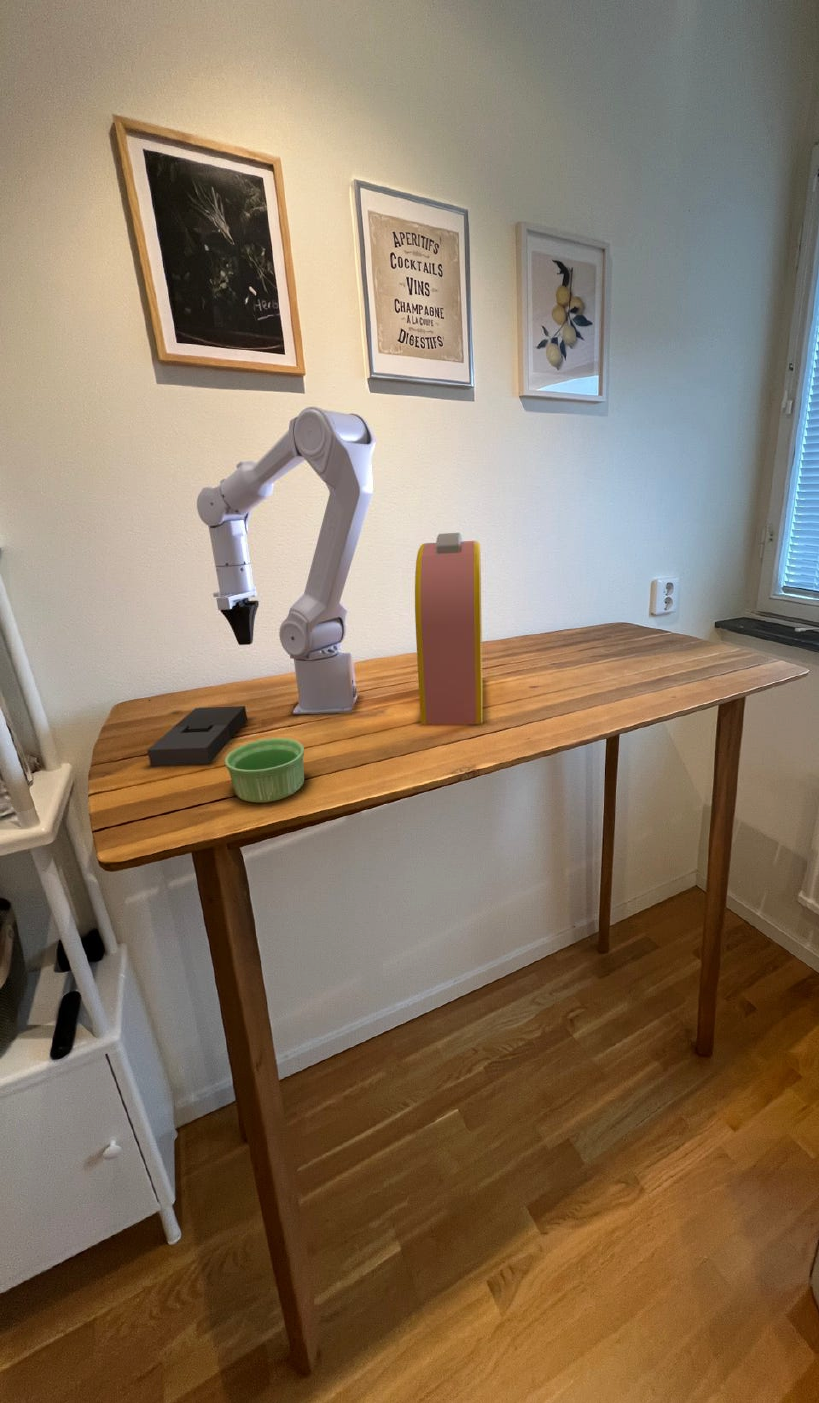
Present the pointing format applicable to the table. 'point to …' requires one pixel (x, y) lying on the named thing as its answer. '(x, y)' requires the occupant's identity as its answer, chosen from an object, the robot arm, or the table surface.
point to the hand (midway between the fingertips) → (245, 643)
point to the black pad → (214, 719)
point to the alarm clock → (449, 630)
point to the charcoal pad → (188, 746)
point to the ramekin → (266, 769)
